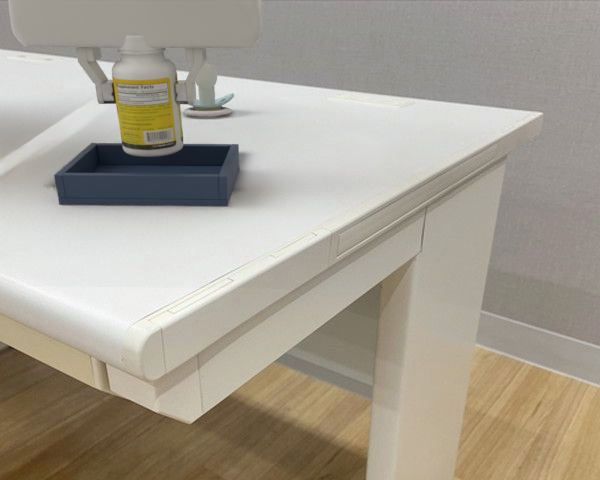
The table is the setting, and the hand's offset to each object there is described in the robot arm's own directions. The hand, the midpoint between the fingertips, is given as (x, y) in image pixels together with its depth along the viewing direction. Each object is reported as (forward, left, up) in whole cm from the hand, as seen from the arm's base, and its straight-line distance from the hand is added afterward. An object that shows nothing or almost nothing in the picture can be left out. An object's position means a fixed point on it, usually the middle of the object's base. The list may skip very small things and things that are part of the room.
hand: (148, 103), depth 55 cm
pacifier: (0, +30, -8) cm, 31 cm away
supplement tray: (0, 0, -7) cm, 7 cm away
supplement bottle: (0, 0, -4) cm, 4 cm away
